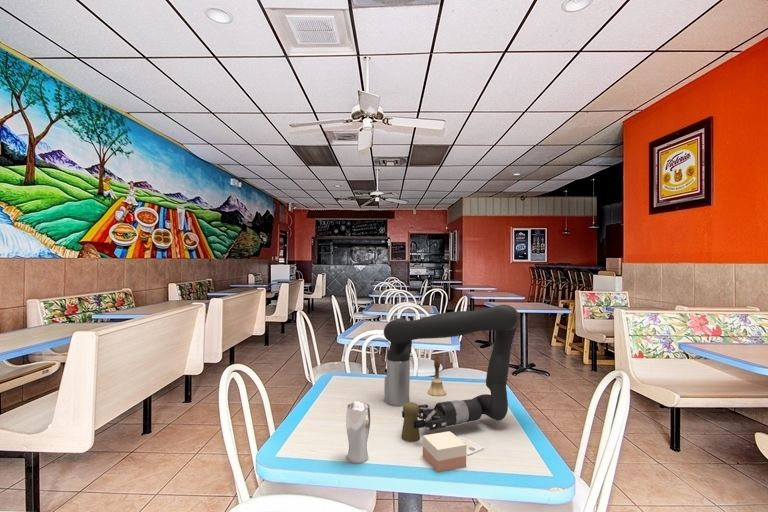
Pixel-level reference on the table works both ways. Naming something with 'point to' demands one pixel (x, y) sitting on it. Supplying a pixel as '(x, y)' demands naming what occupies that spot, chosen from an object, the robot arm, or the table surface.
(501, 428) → the table surface
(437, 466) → the brick base
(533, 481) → the table surface
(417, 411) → the cork
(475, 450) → the page
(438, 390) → the hand bell
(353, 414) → the beer glass
